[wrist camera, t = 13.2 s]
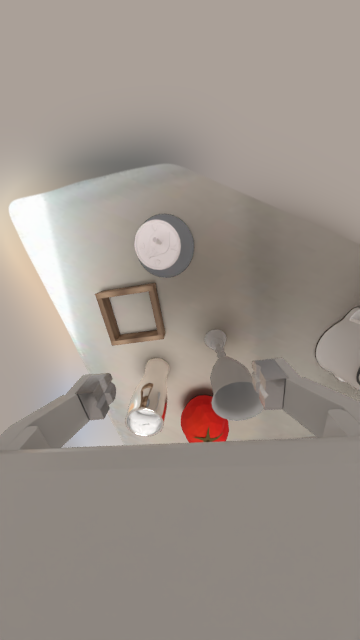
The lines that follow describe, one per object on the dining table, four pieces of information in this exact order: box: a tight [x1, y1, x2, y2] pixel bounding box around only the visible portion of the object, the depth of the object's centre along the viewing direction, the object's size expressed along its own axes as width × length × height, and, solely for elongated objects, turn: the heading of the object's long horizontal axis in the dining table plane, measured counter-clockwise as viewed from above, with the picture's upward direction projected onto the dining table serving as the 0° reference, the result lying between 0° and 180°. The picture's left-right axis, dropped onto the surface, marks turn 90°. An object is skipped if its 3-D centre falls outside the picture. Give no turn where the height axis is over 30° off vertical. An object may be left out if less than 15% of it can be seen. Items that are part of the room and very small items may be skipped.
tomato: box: [181, 395, 229, 443], centre depth 41 cm, size 12×12×11 cm
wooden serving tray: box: [95, 283, 165, 346], centre depth 36 cm, size 12×12×3 cm
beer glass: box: [125, 358, 169, 436], centre depth 35 cm, size 7×7×15 cm
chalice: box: [204, 329, 264, 421], centre depth 31 cm, size 7×7×18 cm
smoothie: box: [134, 220, 181, 270], centre depth 25 cm, size 6×6×14 cm
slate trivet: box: [139, 214, 194, 278], centre depth 32 cm, size 11×11×1 cm
